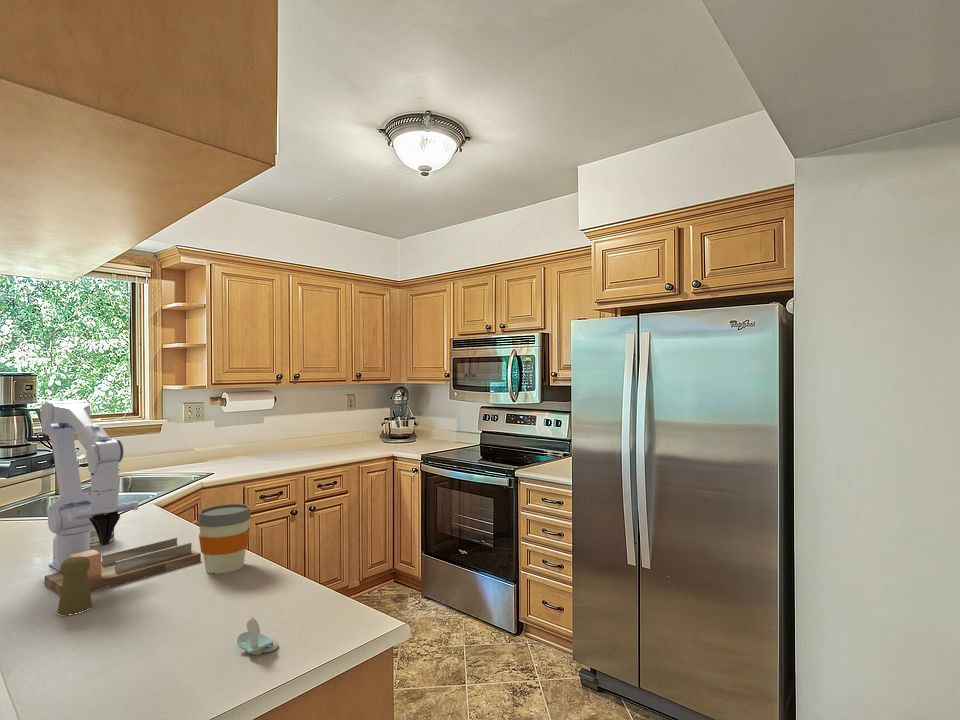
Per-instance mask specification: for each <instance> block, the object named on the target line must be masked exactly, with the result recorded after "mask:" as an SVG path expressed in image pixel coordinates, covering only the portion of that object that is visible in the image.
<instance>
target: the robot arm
mask: <svg viewBox="0 0 960 720" xmlns="http://www.w3.org/2000/svg"><path fill="white" fill-rule="evenodd" d="M39 413H40V414H39V415H40V423H41V429H42V433H43V435H45V436H48V437H50V438H49V439H50V441H51V446H52V454H53V461H54V466H55V473H56V480H57V488H58V494H59V496H58V497H57V498H56V499H55V500H54V501H53V502H51V503H50V505H49V506H48V508H47V510H48V511H47V512H48V513H47V514H48V516H47V526H48V529H49V530H50V532H51V533H52V534H55V536H54V537H53V539H52V561H50V562H48V565H49V566H51V567H52V568H54V569H55V570H57V571H58V572H60V567H61V564H62V563H63V562H64V561H65V560H67V559H69V555H72V554H76V553H81V552H85V551H89V550H91V546H90V529H93V526H94V528H95V530H96V532H97V535H98V538H99V542H100V545H99V546H103V547H104V546H108V545H110V538H111V535H112V532H113V530H114V531H115V527H116V525H117V523H118V522H119V520H120V518H121V514H119V513H123V512H128V511H136V510H139V501H136V500H132V501H125V502H119V492H120V491H119V488H120V487H119V486H120V485H119V483H120V482H119V481H120V480H119V478H120V477H119V475H120V474H119V472H120V471H119V470H120V468H119V467H120V466H119V463H120V462H121V461H122V460H123V458H124V454H125V453H124V452H125V450H124V445H123V443H122V441H121V439H118V438H117V439H115V438H111V437H110V436H109V435H108V433H107V432H106V431H105V430H104V428H103V427H102V426H101V425H100V424H95V423H93V421H92V419H91V406H90V402H89V401H87V400H86V399H80V400H78V399H77V400H60V401H59V400H57V401H56V400H55V401H50V400H46V401H44V403H43V404H42V406H41V407H40V412H39ZM76 434H77V440H78V442H79V443H80V444H81V446H82V448H84V450H85V451H86V454H85V457H86V461H87V465H88V467H87V468H88V469H87V470H88V472H89V473H90V493H91V496H90V495H88V493H86V492H84V491H83V488H82V483H81V476H80V470H79V464H78V459H77V458H78V457H77V451H76V450H77V449H76V444H75V439H74V438H75V435H76ZM75 505H77V506H75Z"/></svg>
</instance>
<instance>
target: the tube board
mask: <svg viewBox="0 0 960 720" xmlns="http://www.w3.org/2000/svg"><path fill="white" fill-rule="evenodd" d="M201 554H202V552H198V551H196V550H192V542H188V543H187V542H186V543H182V544H178V537H172V538H168V539H164V540H159V541H155V542H152V543H148V544H144V545H139V546H135V547H131V548H130V547H129V548H126V549H122V550H119V551H118V550H117V551H114V552H110V553H106V554H103V555H102V554H101V574H99V575H95V576H92V577H88V581H89V588H90V591H93V592H95V591H94V590H96V591H98V590H97V589H100V590H102V589H101V588H103V589H106V588H105V587H107V588H109V587H108V586H110V587H113V586H112V585H114V586H116V585H115V584H117V585H120V584H119V583H121V584H123V583H122V582H124V583H127V582H126V581H128V582H131V581H134V580H133V579H135V580H138V579H142V578H145V577H144V576H146V577H149V576H152V574H153V575H156V574H160V573H162V571H163V572H167V571H169V569H170V570H173V569H172V568H174V569H177V568H180V566H181V567H184V566H187V564H188V565H191V564H194V562H195V563H197V561H198V562H201V561H200V560H202V557H201V556H202V555H201ZM190 563H191V564H190ZM183 565H184V566H183ZM176 567H177V568H176ZM166 570H167V571H166ZM159 572H160V573H159ZM155 573H156V574H155ZM148 575H149V576H148ZM141 577H142V578H141ZM137 578H138V579H137ZM130 580H131V581H130ZM62 582H63V575H62V574H61V572H60V571H58V572H56V573H51V574H47V575H44V585H45V584H46V585H47V587H48V586H49V587H50V588H49V587H48V588H49V589H51V588H52V589H53V590H52V589H51V590H52V591H54V592H55V593H57V592H58V593H57V594H59V595H60V594H61V588H62ZM46 585H45V586H46Z"/></svg>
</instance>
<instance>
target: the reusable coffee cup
mask: <svg viewBox="0 0 960 720" xmlns="http://www.w3.org/2000/svg"><path fill="white" fill-rule="evenodd" d="M251 515H252V514H251V508H250V505H249V504H243V503H230V504H221V505H214V506H208V507H206V508H203V509H200V510H199V512H198V518H197V524H198V526H199V533H198V541H199V547H200V553H201V554H203V563H204V568H205V572H206V573H207V572H208V573H207V574H210V573H215V574H214V575H220V574H219V573H223V574H228V573H227V572H229V573H232V572H231V571H233V572H235V570H236V571H238V570H240V569H242V568H243V567H244V566H243V565H245V557H246V550H247V549H246V548H247V547H248V545H249V537H250V531H251V530H250V529H251V527H249V526H250V519H251V518H252V516H251Z"/></svg>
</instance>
